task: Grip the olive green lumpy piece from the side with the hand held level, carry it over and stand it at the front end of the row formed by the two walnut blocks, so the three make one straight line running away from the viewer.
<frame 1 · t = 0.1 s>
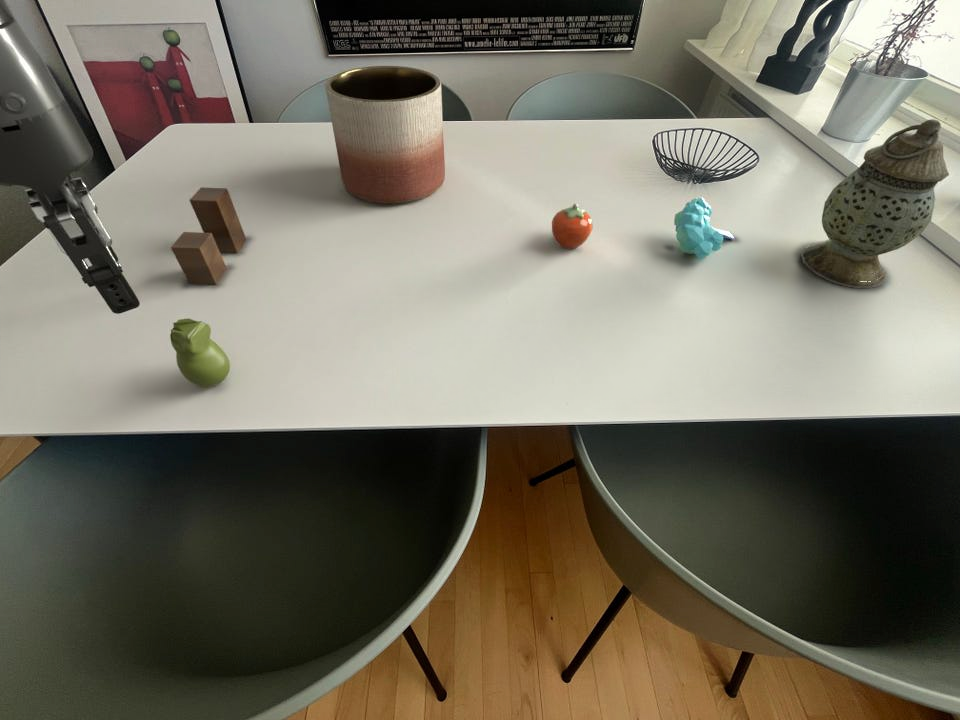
hand: (116, 285, 46), 21 cm above the table, tool pointing down, fingers open, 8 cm apart
lantern: (838, 266, 87), on the table
planter: (395, 184, 105), on the table
block near: (208, 276, 81), on the table
block far: (229, 245, 87), on the table
olive green lumpy piece: (214, 380, 65), on the table
turquoise faceted lumpy piece: (697, 249, 90), on the table
tomato: (568, 244, 90), on the table
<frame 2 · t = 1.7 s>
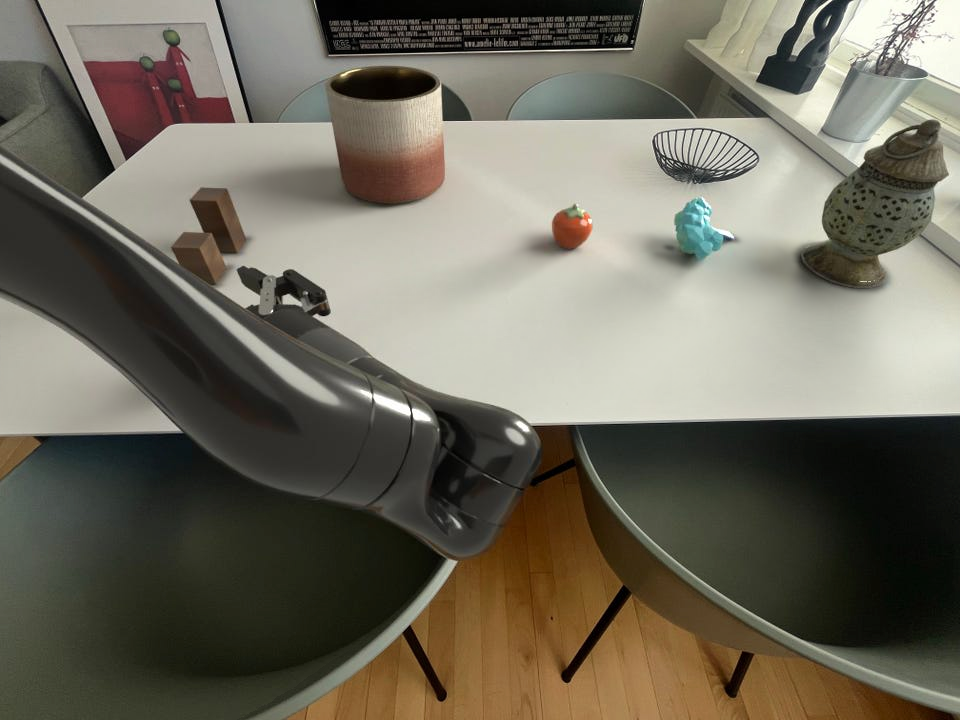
hand: (203, 295, 46), 20 cm above the table, tool horizontal, fingers open, 8 cm apart
nothing on the table moved.
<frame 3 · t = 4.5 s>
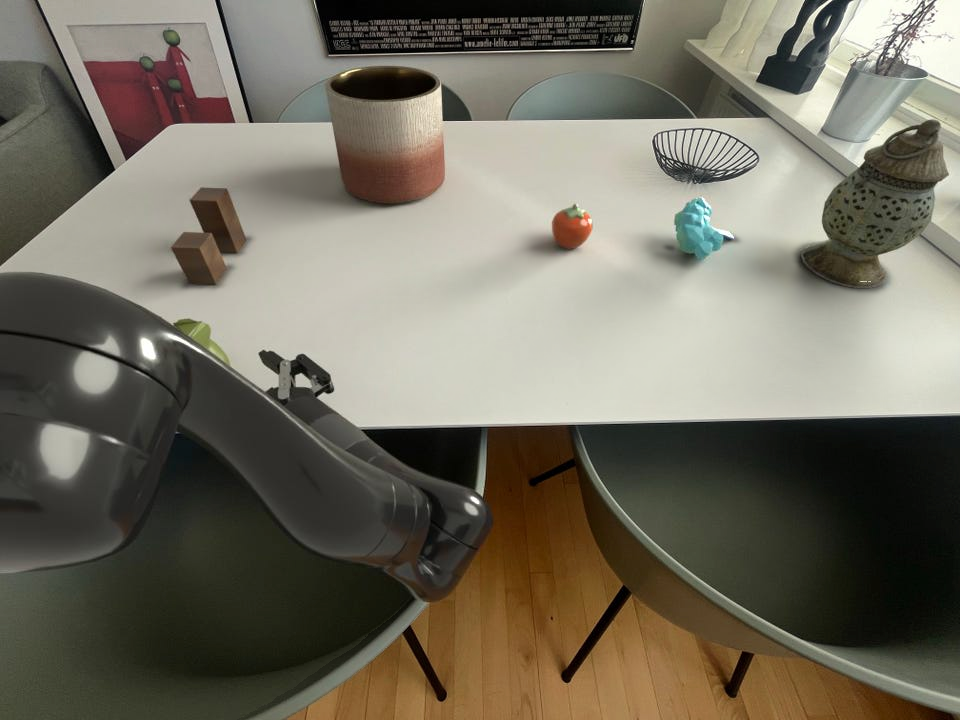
hand: (231, 376, 57), 6 cm above the table, tool horizontal, fingers open, 8 cm apart
nothing on the table moved.
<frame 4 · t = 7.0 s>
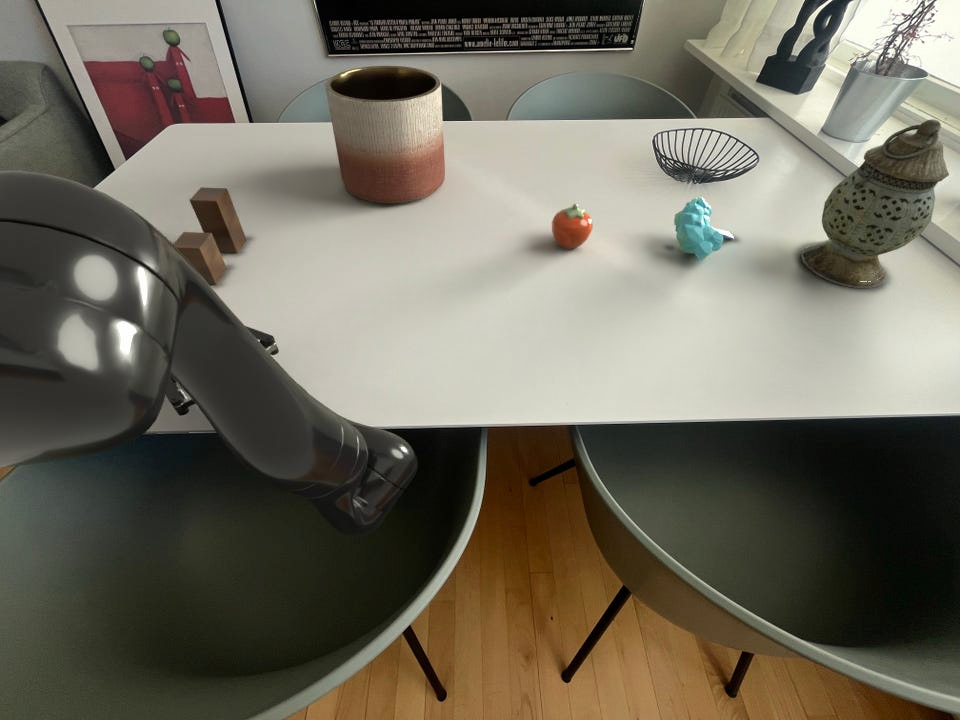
hand: (183, 339, 61), 6 cm above the table, tool horizontal, fingers closed on olive green lumpy piece, 5 cm apart
olive green lumpy piece: (214, 380, 65), on the table, touching gripper
everything else where it was.
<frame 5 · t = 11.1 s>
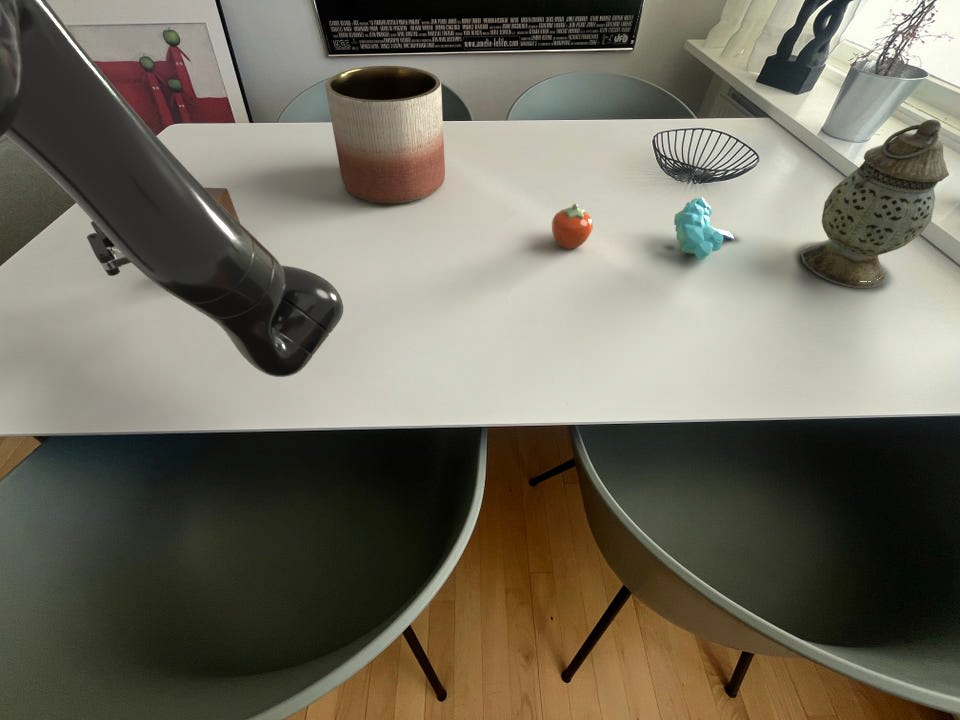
hand: (122, 214, 60), 18 cm above the table, tool horizontal, fingers closed on olive green lumpy piece, 5 cm apart
olive green lumpy piece: (157, 262, 64), point 11 cm above the table, touching gripper
everything else where it was.
when the fingers open (6 cm above the table, at t = 15.2 s): olive green lumpy piece stays where it is, on the table.
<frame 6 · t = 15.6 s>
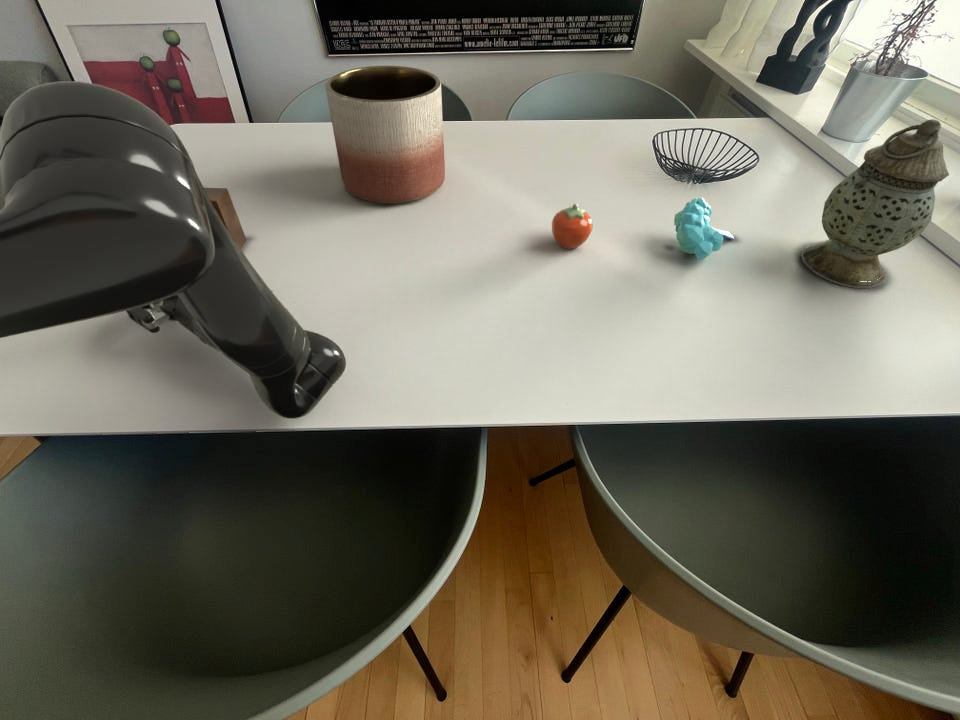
hand: (158, 273, 70), 6 cm above the table, tool horizontal, fingers open, 8 cm apart
olive green lumpy piece: (185, 312, 74), on the table
everything else where it was.
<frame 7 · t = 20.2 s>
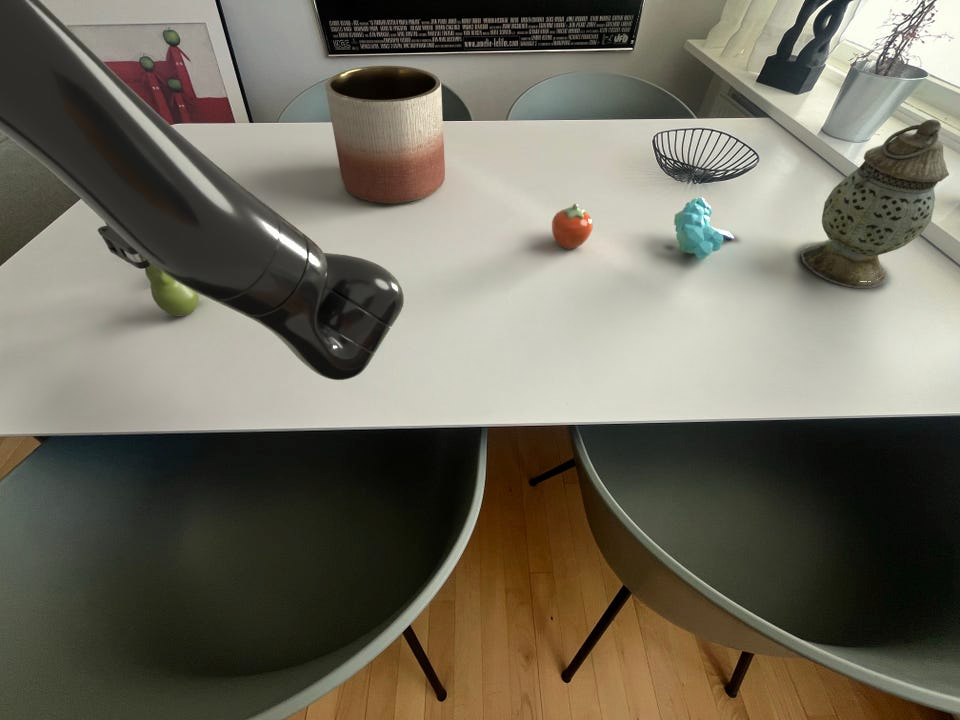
hand: (148, 199, 54), 22 cm above the table, tool horizontal, fingers open, 8 cm apart
nothing on the table moved.
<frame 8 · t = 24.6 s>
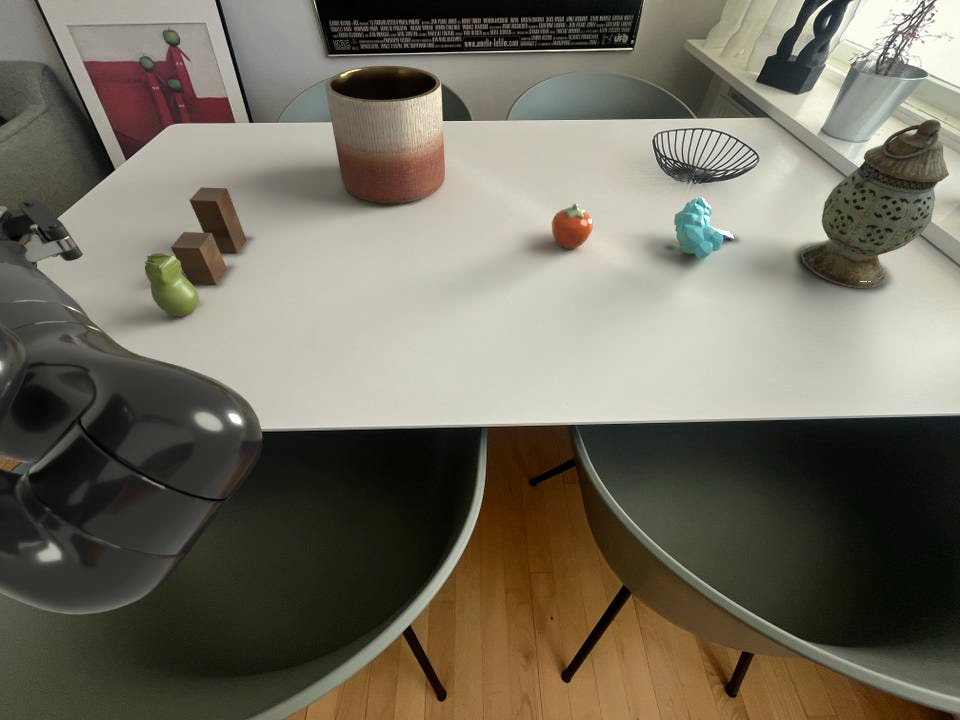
nothing on the table moved.
at the end: olive green lumpy piece 0.2 cm from the target spot on the table beside the block near, on the table; olive green lumpy piece 0.2 cm from the target spot on the table beside the block far, on the table; olive green lumpy piece tilted 0° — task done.
